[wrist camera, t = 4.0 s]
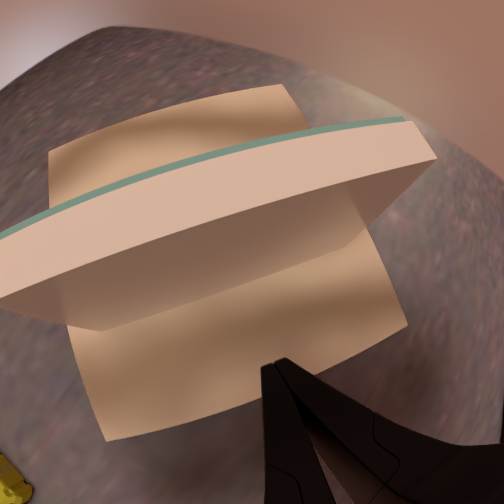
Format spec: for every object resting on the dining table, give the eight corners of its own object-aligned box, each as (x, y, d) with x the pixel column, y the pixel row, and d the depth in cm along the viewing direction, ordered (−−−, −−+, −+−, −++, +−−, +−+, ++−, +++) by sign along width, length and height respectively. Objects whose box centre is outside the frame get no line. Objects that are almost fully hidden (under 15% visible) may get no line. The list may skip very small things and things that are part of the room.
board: (401, 326, 16) (408, 325, 16) (111, 437, 13) (106, 441, 12) (280, 91, 21) (281, 84, 20) (53, 157, 18) (48, 151, 17)
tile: (343, 247, 17) (437, 158, 8) (101, 332, 14) (-15, 303, 5) (329, 218, 17) (406, 114, 9) (92, 297, 14) (-18, 240, 6)
